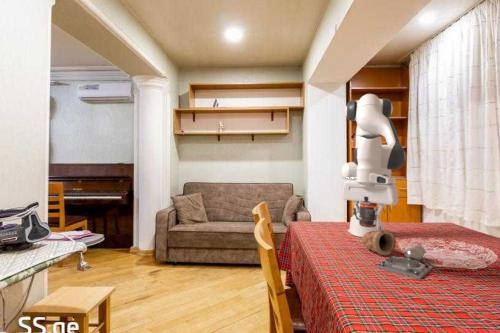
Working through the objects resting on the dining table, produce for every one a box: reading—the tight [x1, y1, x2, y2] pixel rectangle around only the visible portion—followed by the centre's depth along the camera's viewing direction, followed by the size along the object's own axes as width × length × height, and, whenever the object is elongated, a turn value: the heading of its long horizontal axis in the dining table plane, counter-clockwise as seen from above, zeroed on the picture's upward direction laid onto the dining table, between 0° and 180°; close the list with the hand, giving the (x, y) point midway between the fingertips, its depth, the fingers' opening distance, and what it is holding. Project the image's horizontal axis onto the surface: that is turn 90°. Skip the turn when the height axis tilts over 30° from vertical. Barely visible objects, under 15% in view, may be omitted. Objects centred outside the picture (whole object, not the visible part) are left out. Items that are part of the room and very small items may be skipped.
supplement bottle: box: [359, 196, 378, 227], centre depth 109 cm, size 6×6×11 cm
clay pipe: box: [360, 229, 397, 257], centre depth 127 cm, size 19×11×15 cm
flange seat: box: [376, 245, 433, 280], centre depth 109 cm, size 24×14×5 cm, turn 134°
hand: (368, 214), depth 109 cm, fingers closed on supplement bottle, 6 cm apart
